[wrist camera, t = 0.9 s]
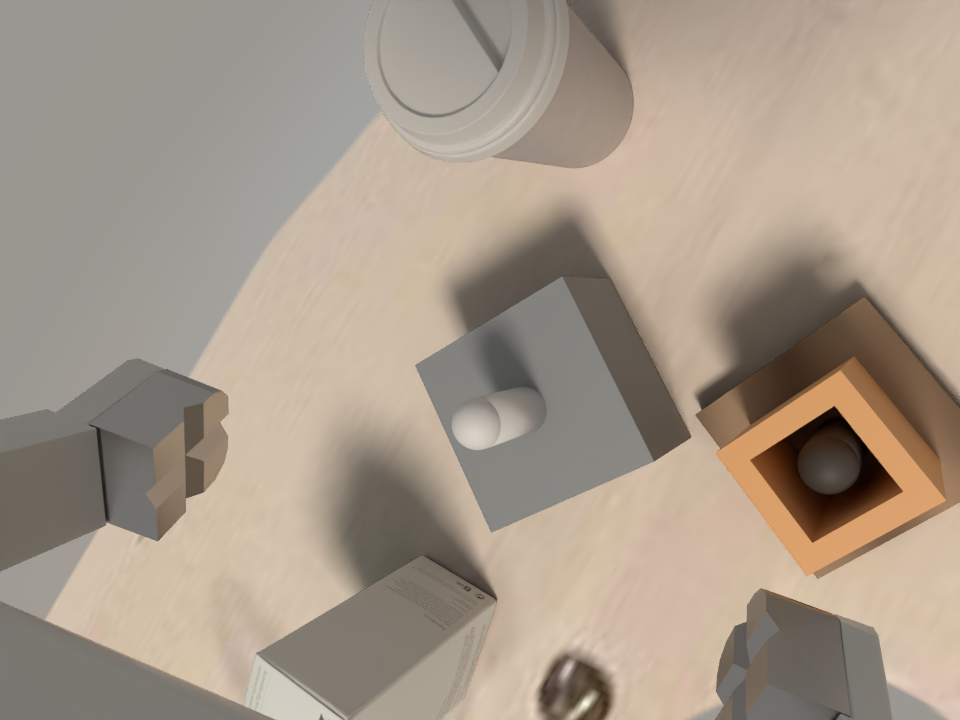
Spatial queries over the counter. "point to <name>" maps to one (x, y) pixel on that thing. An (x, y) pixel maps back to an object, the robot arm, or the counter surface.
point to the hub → (551, 399)
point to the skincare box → (379, 652)
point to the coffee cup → (496, 81)
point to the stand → (829, 437)
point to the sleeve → (864, 506)
